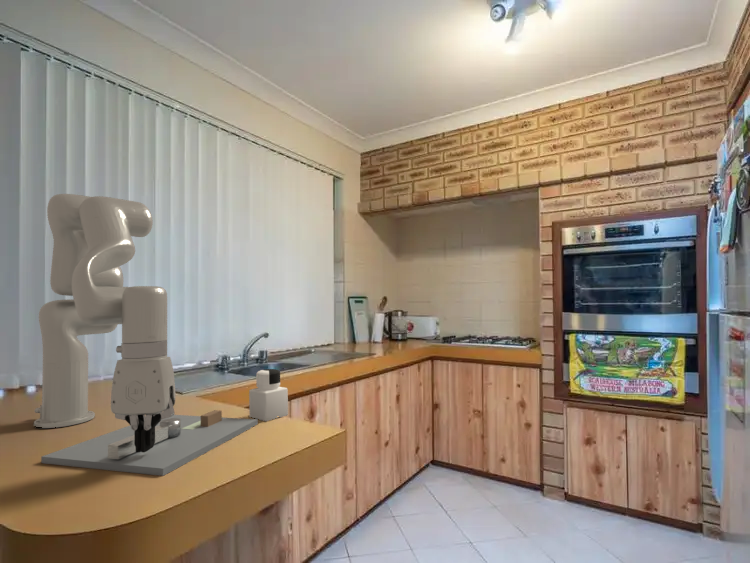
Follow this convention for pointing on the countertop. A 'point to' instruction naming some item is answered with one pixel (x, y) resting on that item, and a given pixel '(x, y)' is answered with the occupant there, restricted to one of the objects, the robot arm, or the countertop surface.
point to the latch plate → (155, 446)
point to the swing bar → (162, 432)
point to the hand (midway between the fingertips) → (144, 449)
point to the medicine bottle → (268, 396)
